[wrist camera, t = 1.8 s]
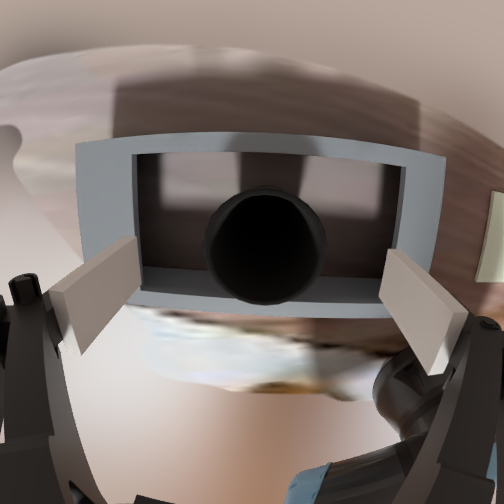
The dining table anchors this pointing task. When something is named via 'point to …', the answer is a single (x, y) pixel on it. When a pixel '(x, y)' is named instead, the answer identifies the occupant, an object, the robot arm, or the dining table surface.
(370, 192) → the dining table surface
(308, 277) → the cup
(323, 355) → the dining table surface
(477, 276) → the mat
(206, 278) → the slot box
